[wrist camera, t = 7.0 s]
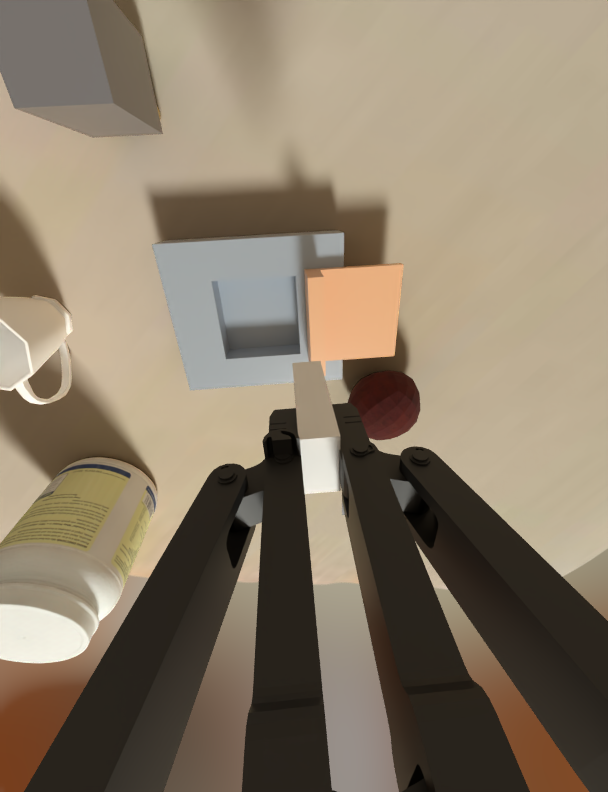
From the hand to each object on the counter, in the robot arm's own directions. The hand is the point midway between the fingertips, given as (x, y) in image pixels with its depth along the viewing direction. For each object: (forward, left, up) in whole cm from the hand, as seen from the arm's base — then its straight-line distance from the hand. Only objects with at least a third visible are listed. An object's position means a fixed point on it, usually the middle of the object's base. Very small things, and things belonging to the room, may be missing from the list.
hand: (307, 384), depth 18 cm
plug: (-11, +16, -16) cm, 25 cm away
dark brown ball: (+9, -10, -17) cm, 21 cm away
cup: (-23, -1, -16) cm, 29 cm away
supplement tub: (-25, -22, -17) cm, 37 cm away
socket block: (-3, 0, -16) cm, 17 cm away
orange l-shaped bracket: (+5, 0, -13) cm, 13 cm away
